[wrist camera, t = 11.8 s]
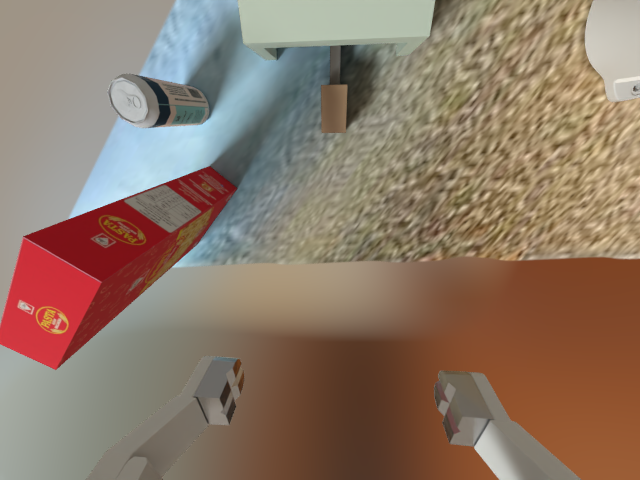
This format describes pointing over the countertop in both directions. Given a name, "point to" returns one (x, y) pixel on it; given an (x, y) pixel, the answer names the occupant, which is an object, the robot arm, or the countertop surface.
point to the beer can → (156, 102)
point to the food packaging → (103, 263)
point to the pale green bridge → (334, 23)
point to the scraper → (334, 97)
